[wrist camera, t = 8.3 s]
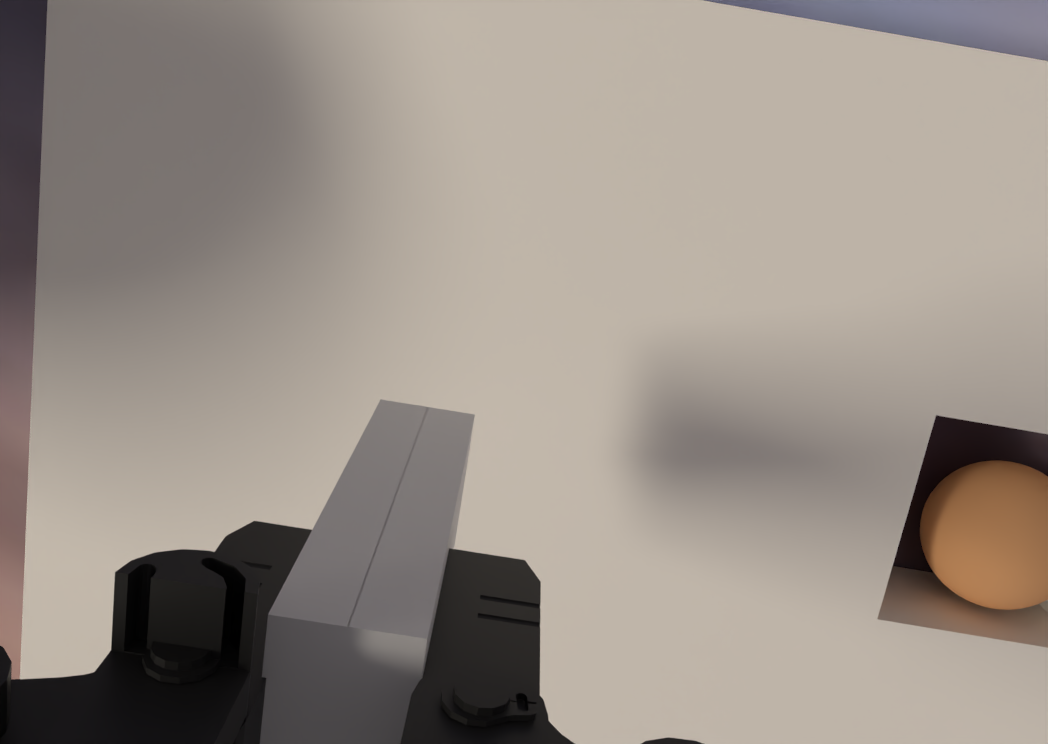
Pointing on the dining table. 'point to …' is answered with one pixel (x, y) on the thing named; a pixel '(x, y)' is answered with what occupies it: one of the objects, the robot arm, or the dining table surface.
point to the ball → (990, 534)
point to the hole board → (555, 330)
